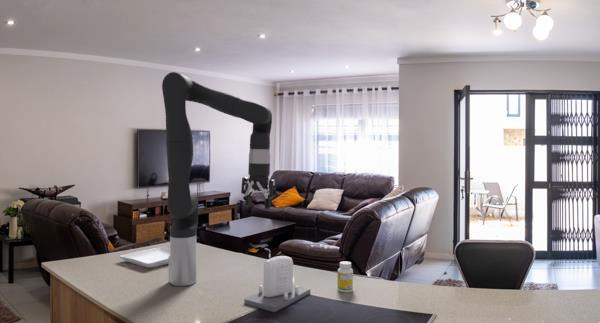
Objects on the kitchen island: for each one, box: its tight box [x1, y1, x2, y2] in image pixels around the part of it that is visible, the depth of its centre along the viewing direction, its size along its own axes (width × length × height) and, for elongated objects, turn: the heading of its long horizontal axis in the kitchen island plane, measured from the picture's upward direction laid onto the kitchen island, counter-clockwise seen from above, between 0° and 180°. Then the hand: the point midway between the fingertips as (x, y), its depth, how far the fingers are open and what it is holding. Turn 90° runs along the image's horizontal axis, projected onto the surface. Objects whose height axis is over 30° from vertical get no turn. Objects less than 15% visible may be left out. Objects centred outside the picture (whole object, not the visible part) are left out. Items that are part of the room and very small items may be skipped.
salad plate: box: [119, 246, 170, 269], centre depth 184 cm, size 21×21×3 cm
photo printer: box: [263, 255, 294, 297], centre depth 141 cm, size 10×4×12 cm, turn 126°
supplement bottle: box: [337, 260, 354, 293], centre depth 149 cm, size 5×5×10 cm
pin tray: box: [243, 284, 311, 313], centre depth 141 cm, size 12×20×4 cm, turn 146°
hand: (258, 207), depth 152 cm, fingers open, 8 cm apart
